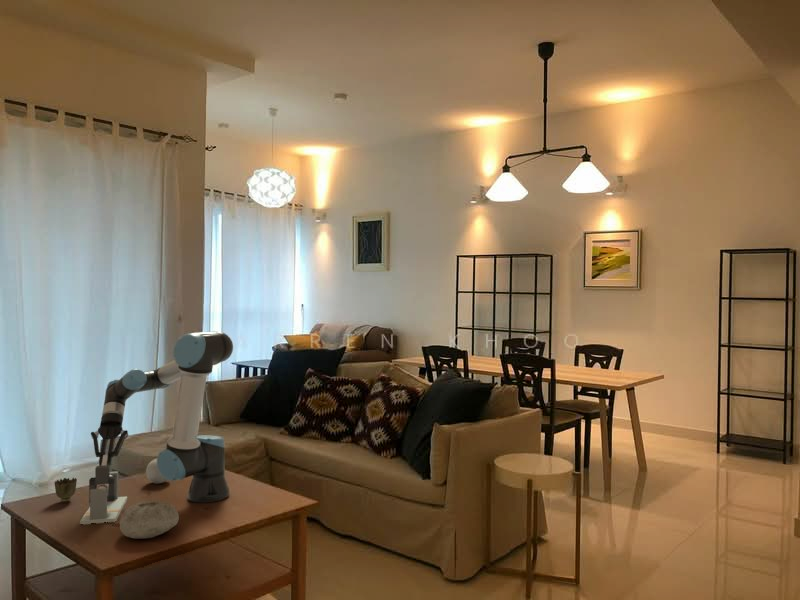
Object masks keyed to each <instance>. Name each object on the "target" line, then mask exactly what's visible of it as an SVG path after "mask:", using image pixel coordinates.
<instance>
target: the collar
mask: <svg viewBox="0 0 800 600" xmlns="http://www.w3.org/2000/svg"><path fill="white" fill-rule="evenodd" d="M110 467H111V465H105V466H100V465H97V466H96V467H95V469H94V471H95V476H94V477H90V478H89V480H88V492H89V493H88V499H89V500H88V504H90V490H91V489H98V487H97V486H100V485H101V484H109V494H107V502H111V501H115V499H116V476H110V472H111V471H110Z"/></svg>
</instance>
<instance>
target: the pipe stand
mask: <svg viewBox="0 0 800 600" xmlns="http://www.w3.org/2000/svg"><path fill="white" fill-rule="evenodd" d="M110 476H116V499H115V501H111V502H107V494H109V484H101V485H98V487H97V489H91V490H90V503H89V508H88V509H87V510H86V511H85V513H84V515H83V516H82V518H81V519H80V521H79V525H80V524H83V525H92V524H91V523H96V524H105V523H104V522H106V524H107V522H108V523H116V522H115V521H117V520H118V518H119V516H120V514H121V512H122V510H123V508H124V507H125V504H126V503H127V501H128V496H119V471H110Z"/></svg>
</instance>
